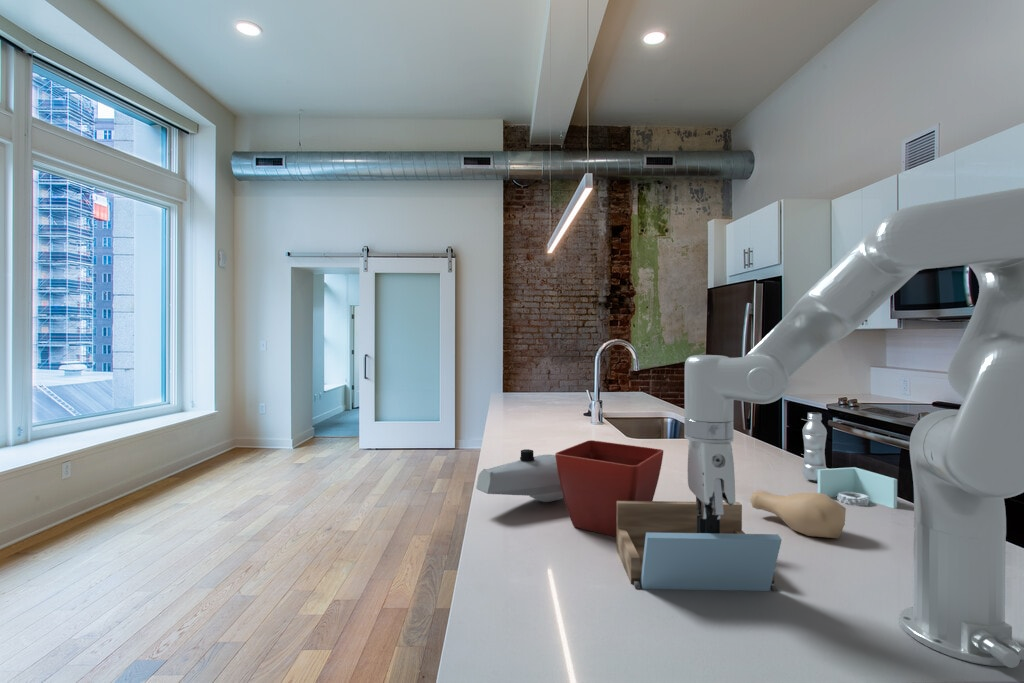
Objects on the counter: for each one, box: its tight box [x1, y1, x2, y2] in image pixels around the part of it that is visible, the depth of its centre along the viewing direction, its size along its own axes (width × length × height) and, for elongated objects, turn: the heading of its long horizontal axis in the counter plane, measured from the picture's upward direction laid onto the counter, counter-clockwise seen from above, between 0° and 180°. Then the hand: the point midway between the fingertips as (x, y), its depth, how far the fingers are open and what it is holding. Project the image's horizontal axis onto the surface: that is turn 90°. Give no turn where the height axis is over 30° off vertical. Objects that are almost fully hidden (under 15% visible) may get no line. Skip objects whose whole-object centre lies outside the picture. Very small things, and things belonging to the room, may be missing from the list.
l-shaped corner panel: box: [817, 466, 898, 509], centre depth 130 cm, size 12×12×8 cm
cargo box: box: [615, 500, 778, 592], centre depth 92 cm, size 16×24×10 cm
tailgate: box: [640, 532, 783, 592], centre depth 82 cm, size 1×21×11 cm, turn 88°
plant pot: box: [554, 439, 664, 538], centre depth 114 cm, size 19×19×17 cm
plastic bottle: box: [801, 412, 828, 482], centre depth 150 cm, size 6×7×20 cm
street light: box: [475, 448, 564, 503], centre depth 128 cm, size 30×16×14 cm, turn 127°
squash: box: [749, 489, 847, 539], centre depth 112 cm, size 11×20×9 cm, turn 31°
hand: (708, 541), depth 83 cm, fingers closed
